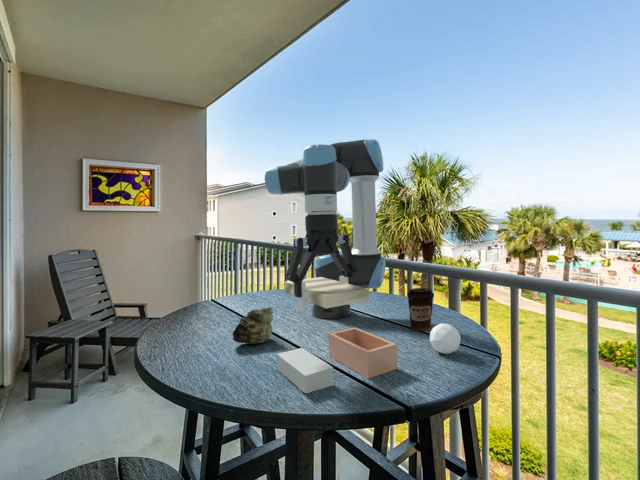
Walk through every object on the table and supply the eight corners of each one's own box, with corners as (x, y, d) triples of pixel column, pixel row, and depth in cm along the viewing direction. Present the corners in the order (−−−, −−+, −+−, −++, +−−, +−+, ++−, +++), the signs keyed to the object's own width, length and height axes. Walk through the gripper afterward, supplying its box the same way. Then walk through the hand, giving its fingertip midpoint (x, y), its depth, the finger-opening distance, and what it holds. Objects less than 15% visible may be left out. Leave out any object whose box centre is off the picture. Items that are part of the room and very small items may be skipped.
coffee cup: (436, 333, 104) (435, 292, 103) (408, 332, 105) (408, 291, 105) (432, 325, 112) (432, 286, 111) (407, 324, 114) (406, 286, 113)
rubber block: (277, 370, 81) (276, 354, 81) (302, 363, 84) (302, 347, 84) (305, 394, 69) (305, 375, 69) (333, 385, 73) (333, 367, 72)
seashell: (238, 337, 106) (236, 305, 105) (274, 335, 107) (273, 304, 106) (232, 349, 95) (230, 315, 95) (272, 347, 96) (271, 313, 96)
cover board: (284, 291, 85) (284, 281, 84) (321, 286, 90) (321, 276, 90) (326, 308, 67) (325, 296, 67) (368, 300, 73) (368, 289, 73)
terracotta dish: (329, 355, 89) (328, 333, 88) (355, 348, 93) (355, 327, 93) (368, 378, 75) (367, 352, 75) (397, 368, 80) (396, 344, 80)
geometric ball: (453, 364, 88) (467, 346, 83) (423, 352, 89) (435, 334, 84) (453, 341, 94) (466, 324, 89) (425, 331, 95) (436, 313, 90)
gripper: (281, 214, 68) (285, 319, 70) (371, 212, 80) (373, 302, 82) (267, 215, 75) (271, 311, 76) (352, 213, 87) (354, 296, 88)
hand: (324, 306), depth 79 cm, fingers closed on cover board, 11 cm apart
